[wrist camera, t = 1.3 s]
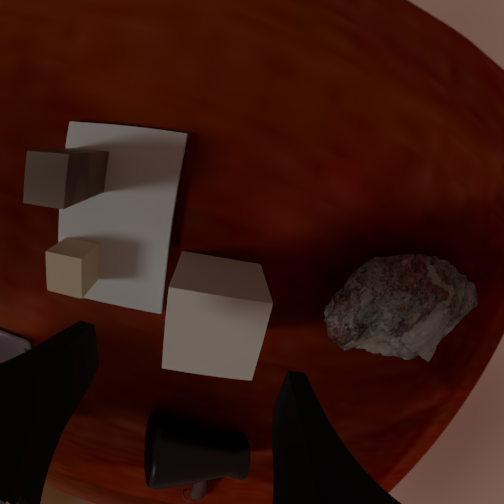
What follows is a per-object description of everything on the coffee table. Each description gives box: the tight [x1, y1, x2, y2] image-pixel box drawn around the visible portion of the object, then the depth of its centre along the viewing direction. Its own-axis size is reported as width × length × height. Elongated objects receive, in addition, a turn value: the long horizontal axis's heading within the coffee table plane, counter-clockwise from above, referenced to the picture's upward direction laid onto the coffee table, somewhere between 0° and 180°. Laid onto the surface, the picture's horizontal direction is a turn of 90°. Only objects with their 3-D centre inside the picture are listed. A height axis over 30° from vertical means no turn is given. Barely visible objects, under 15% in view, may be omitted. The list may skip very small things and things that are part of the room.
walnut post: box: [23, 148, 109, 209], centre depth 15 cm, size 3×3×6 cm
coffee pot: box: [144, 411, 250, 502], centre depth 25 cm, size 8×18×8 cm
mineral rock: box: [324, 254, 478, 362], centre depth 21 cm, size 15×8×4 cm, turn 71°
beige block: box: [162, 251, 273, 381], centre depth 19 cm, size 5×5×6 cm
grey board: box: [46, 122, 188, 314], centre depth 17 cm, size 12×8×4 cm, turn 168°
